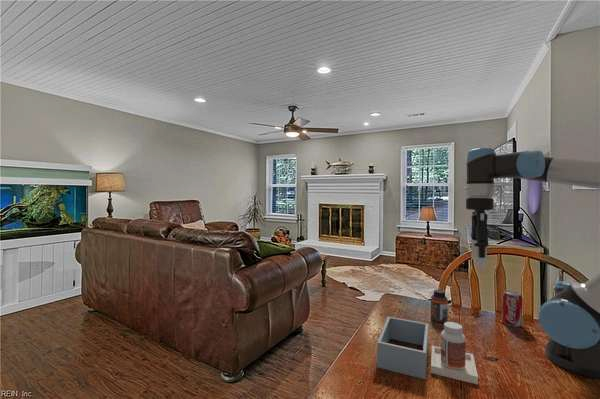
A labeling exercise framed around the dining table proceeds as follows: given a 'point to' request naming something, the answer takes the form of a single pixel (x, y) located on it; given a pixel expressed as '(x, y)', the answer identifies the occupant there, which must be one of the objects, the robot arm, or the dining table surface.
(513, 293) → the soda can
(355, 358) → the dining table surface
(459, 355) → the pill bottle
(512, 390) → the dining table surface
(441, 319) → the supplement bottle
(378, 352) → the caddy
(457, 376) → the tray
